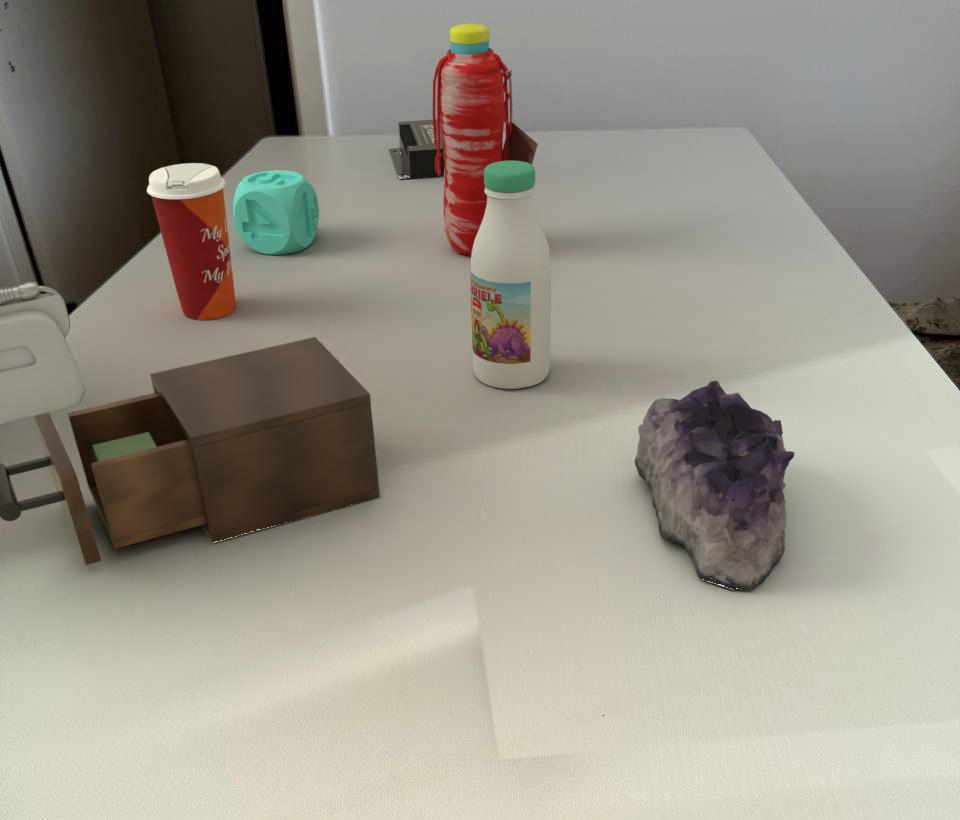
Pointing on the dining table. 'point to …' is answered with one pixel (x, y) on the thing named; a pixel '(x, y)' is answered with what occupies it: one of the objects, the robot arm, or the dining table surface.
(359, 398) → the cabinet
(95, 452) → the block
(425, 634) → the dining table surface
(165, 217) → the coffee cup
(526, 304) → the milk bottle
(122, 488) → the drawer
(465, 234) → the water bottle
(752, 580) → the geode
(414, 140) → the dark grey box
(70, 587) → the dining table surface
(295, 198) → the decorative dice
